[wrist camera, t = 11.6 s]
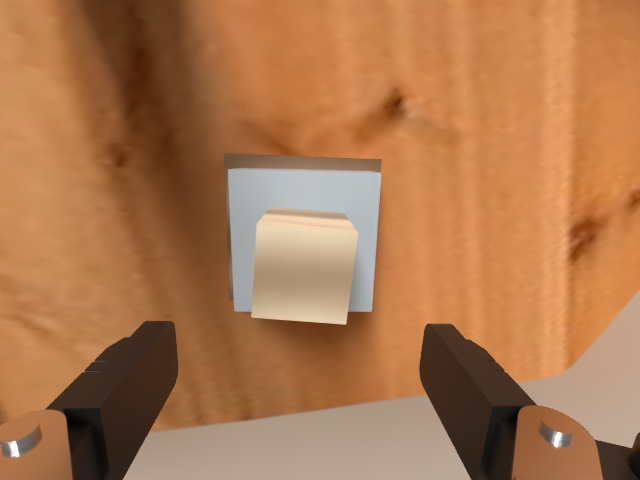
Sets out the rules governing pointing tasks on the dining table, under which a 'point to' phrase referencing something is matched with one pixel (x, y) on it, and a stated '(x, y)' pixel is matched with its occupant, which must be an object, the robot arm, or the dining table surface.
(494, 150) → the dining table surface
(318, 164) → the walnut plinth block
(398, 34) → the dining table surface
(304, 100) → the dining table surface
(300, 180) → the slate-blue block
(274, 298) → the maple block
